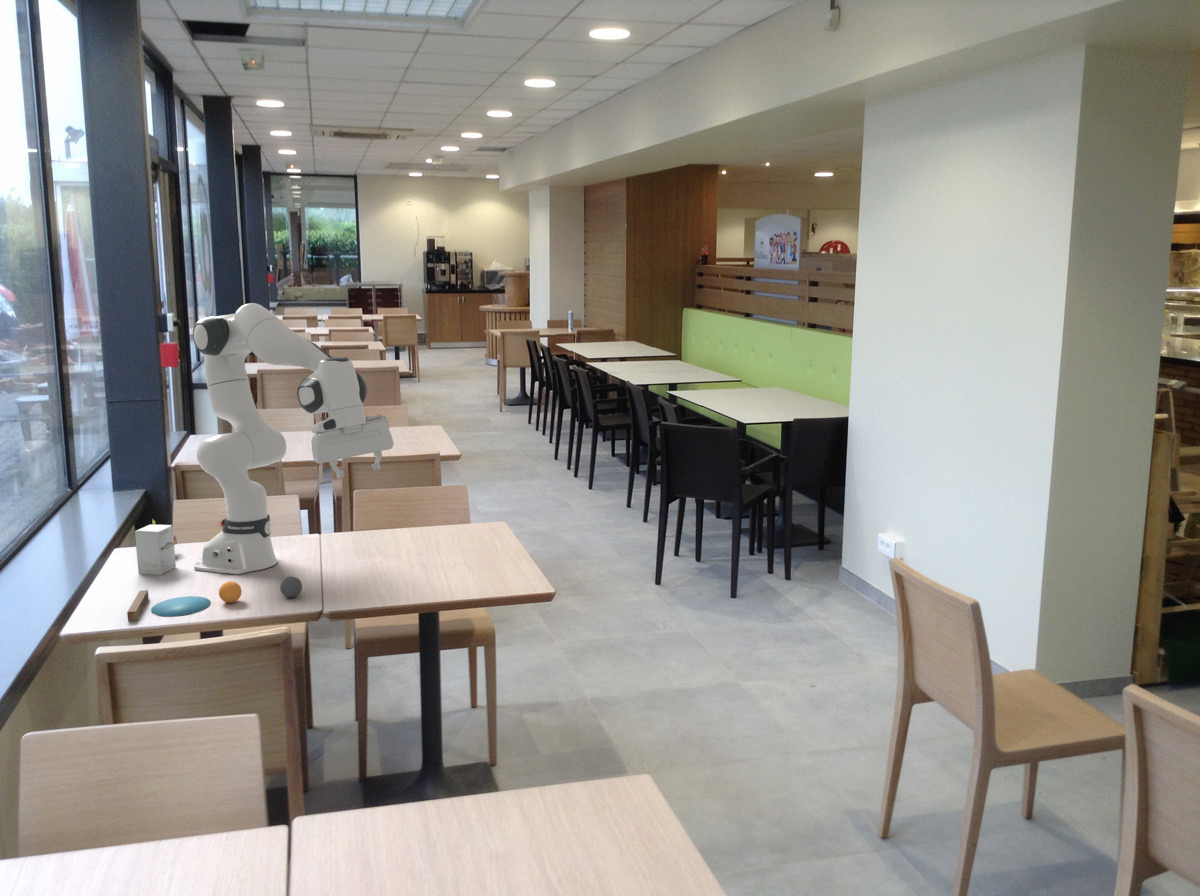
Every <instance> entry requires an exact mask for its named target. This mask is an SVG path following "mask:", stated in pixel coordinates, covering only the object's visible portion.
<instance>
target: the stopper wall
mask: <svg viewBox="0 0 1200 896" xmlns="http://www.w3.org/2000/svg"><path fill="white" fill-rule="evenodd" d="M148 599H150V598H149V590H148V589H146V590H145V589H144V590H143V589H142V590H139V591H138V592H137V595H136V596H135V598H134V599H133V601H132V603H131V605H130V606H129V608H128V610H127V611H126V613H127V622H128V621H131V622H138V620H139V618H140V616H141V615H142V613H143V611H144V609H145V607H146V606H147V603H148V602H147V601H149V600H148ZM143 608H144V609H143ZM142 610H143V611H142ZM141 612H142V613H141ZM140 614H141V615H140ZM138 617H139V618H138Z"/></svg>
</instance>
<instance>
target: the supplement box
mask: <svg viewBox="0 0 1200 896" xmlns="http://www.w3.org/2000/svg"><path fill="white" fill-rule="evenodd" d="M173 535H174V529H173V524H156V525H153V524H148V525H145V526H144V527H141V528H139V529H137V530H135V531H134V536H135V548H136V558H137V559H136V560H137V570H138V572H137V573H138V574H139V575H152V574H153V576H162V575H163V574H165V573H167V572H169V571H171V570H173V569H174V568H176V567H177V565H176V553H175V550H176V549H175V545H174V538H173ZM154 574H155V575H154Z"/></svg>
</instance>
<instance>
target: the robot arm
mask: <svg viewBox="0 0 1200 896" xmlns="http://www.w3.org/2000/svg"><path fill="white" fill-rule="evenodd" d="M192 340H193V343H194V346H195V347H196V349H197V350H198V351H199V353H201V354H202V355H204V358H203V359H204V375H205V381H206V387H207V391H208V396H209V400H210V405H211V409H212V412H213V414H214V415H215V416H216V417H217V418H219V419H221V420H225V421H227V422H228V423H230V425H231V426H232V427H233V429H234V432H228V433H223V434H221V433H220V434H217V435H214V436H211V437H208V438H206V439H204V440H202V441H201V442H200V443H199V445H198V447H197V451H196V459H197V462H198V464H199V466H200V467H201V469H202V470H203V471H204V472H205V473H207V474H209V475H210V476H212V477H213V478H214V479H215V480H216V481H217V482H218V484H219V486H220V487H221V490H222V492H223V496H224V501H225V507H226V508H225V509H226V517H225V518H224V519H222V520H221V521H220V522H218V524H219V525H218V527H222V529H221V531H220V532H218V533H217V534H216V535H215V536H214V537H213V538H211V539H210V540H209V541H208V542H206V544H205V545H204V546H203V550H202V555H201V557H202V558H201V559H199V560H197V561H196V562H195V564H194V570H195V571H200V572H201V571H203V572H204V571H205V572H209V573H210V572H211V573H221V574H228V573H229V574H230V575H240V574H241V575H242V574H245V573H249V572H256V571H260V570H265V569H267V568H270V567H273V566H275V565H276V564H277V563H278V559H277V557H276V555H275V551H274V550H275V549H274V547H273V544H272V539H271V533H272V530H271V529H272V526H271V525H272V524H271V517H270V514H269V510H268V497H267V489H266V488H265V487H264V486H263V485H262V484H261V483H259V482H256V481H253V480H251V479H250V476H249V472H248V470H252V469H257V468H261V467H267V466H269V465H272V464H275V463H277V462H279V461H282V459H284V457H285V455H286V451H287V442H286V441H287V440H286V439H285V437H284V435H283V433H282V432H281V431H279V430H278V429H276V428H275V427H273V426H271V425H270V424H269V423H268V422H267V421H266V420H265V419H264V418H263V417H262V415H261V414H260V412H259V410H258V409H257V406H256V404H255V401H254V397H253V393H252V390H251V386H250V381H249V377H248V373H247V369H246V364H245V363H246V362H245V361H246V358H247V356H248V355H249V356H250V357H253V358H254V357H257V358H258V359H260V360H261V361H263V362H265V363H266V364H269V365H272V366H273V365H274V366H287V367H299V368H304V369H308V370H309V371H312V374H311V373H310V375H309V376H307V377H305V378H303V379H302V380H301V381H300V382H299V384H298V387H297V392H296V394H297V399H298V403H299V404H300V407H301V408H302V409H303V410H304V411H305V412H307V413H308V414H321V413H322V414H323V413H327V415H328V417H326V418H324V419H322V420H321V421H318V422H317V423H315V424H313V425H312V426H311V428H310V429H311V432H312V433H313V436H312V438H311V453H312V458H313V461H314V462H315V463H316V464H323V463H328V464H329V467H330V468H331V469H332V470H333V471H334V472H335V475H336V478H337V479H342V478H343V479H344V478H345V477H346V476H345V471H344V469H343V470H340V468H339V467H338V466H337V465H338V464H339V462H338V460H343V459H347V458H353V457H357V456H362V455H367V454H368V455H369V454H372V453H373V457H375V460H374V463H372V464H371V468H372V472H377V471H380V470H381V465H380V463H381V460H382V458H383V453H382V452H383V451H388V450H392V449H393V447H394V440H393V436H392V432H391V430H390V422H389V419H388V418H387V417H386V415H385V416H384V415H382V414H375V415H370V416H369V415H368V416H366V413H365V408H364V402H365V400H366V399H367V396H368V386H367V383H366V381H365V379H364V378H363V377H362V376H361V375H360V374H359V373H358V372H357V371H356V370H355V367H354V364H353V362H352V360H351V359H350V358H349V357H345V356H336V357H335V356H334V357H333V356H332V355H330V353H328V352H326V350H324V349H323V348H321V347H320V345H319V346H318V345H317V344H316V343H314V342H312V341H311V340H309V339H308V338H305V337H303V336H301V335H300V334H298V333H297V332H296V331H293V330H292V329H291V328H289V326H287V325H285V324H284V323H283V321H282V320H280V319H279V317H278V316H276V315H275V314H274V313H273V312H272V311H270V310H269V309H267V308H266V307H264V306H263V305H261V304H259V303H255V302H250V303H249V302H248V303H246V304H244V305H241V306H240V307H239V308H238V309H237V310H236V311H235V313H230V314H223V315H217V316H214V315H213V316H212V315H211V316H207V317H203V318H201V319H198V320H197V321H196V323H195V324H194V327H193V329H192ZM229 574H228V575H229Z"/></svg>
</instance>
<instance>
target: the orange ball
mask: <svg viewBox="0 0 1200 896" xmlns="http://www.w3.org/2000/svg"><path fill="white" fill-rule="evenodd" d="M242 593H243V592H242V587H241V585H240V584H238V582H236V581H232V580H231V581H226V582H224V583H222V584H221V585H220V587H219V590H218V596H219V599H221V600H222V602H224V603H228V604H230V603H231V604H232V603H236V602H237V601H238V600H239V599H240V598H241V596H242Z"/></svg>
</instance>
